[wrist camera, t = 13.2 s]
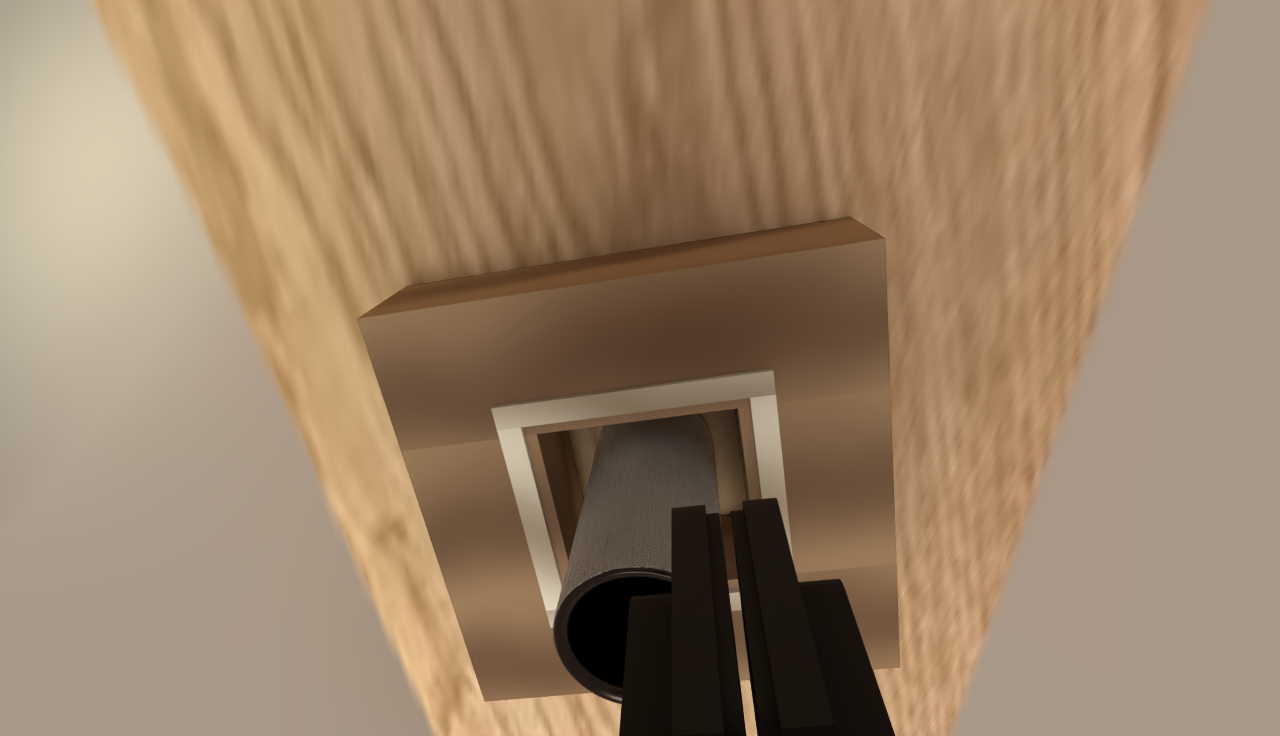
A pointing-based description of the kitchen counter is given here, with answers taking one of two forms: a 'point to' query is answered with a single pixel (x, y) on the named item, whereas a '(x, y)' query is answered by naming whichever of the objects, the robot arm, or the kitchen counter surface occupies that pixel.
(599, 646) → the grey hollow tube
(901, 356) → the kitchen counter surface
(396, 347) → the brown flat square frame
